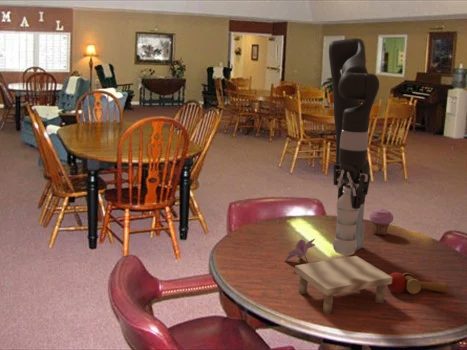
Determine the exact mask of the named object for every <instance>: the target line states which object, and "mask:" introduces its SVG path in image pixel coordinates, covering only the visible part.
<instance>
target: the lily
mask: <svg viewBox="0 0 467 350" xmlns="http://www.w3.org/2000/svg"><path fill="white" fill-rule="evenodd" d="M315 240H316V238H313V239H311V240H309V241H308V242H307V241H306V240H304V239H303V238H302V239H299V240H298V242H297V243H296V245H295V248H294V249H292V250H290V251H289V252H287V253H286V255H288V256H286V258H285V259H284V262H287V261H288V260H290V259H291V258H293V257H297V258H298V259H302V257H304V259H305V261H306V264H308V263H309V261H308V259H307V256H306V254H307V252H308V250H309V249H310V248H311V249H312V247H315V246H316V244H315V243H313V242H314V241H315Z"/></svg>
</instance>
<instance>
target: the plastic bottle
mask: <svg viewBox="0 0 467 350" xmlns="http://www.w3.org/2000/svg"><path fill="white" fill-rule="evenodd" d="M356 190H357V188H356ZM342 192H343V195H342V196H341V197H340V198H339V199H338V198H337V201H336V224H337V228H335V234H334V235H335V236H334V239H333V243H332V245H333V250H334V252H335V253H336V254H338V255H343V256H351V255H353V254H355V252H357V251H356V248H357V240H356V224H357V218H358V214H359V209H360V208H359V209H353V208H352V202H353V196H354V195H353V190H352V188H351V187H350V184H348V185H344V186H343V191H342Z"/></svg>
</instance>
